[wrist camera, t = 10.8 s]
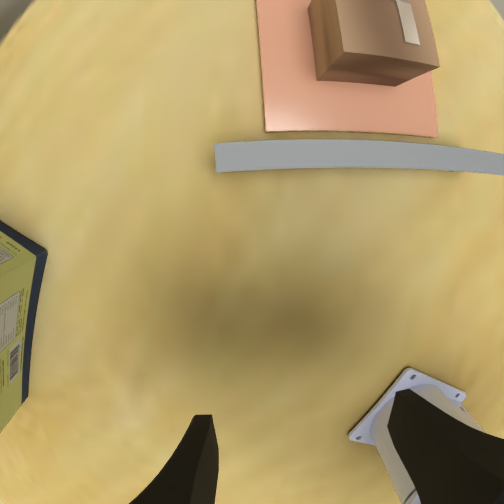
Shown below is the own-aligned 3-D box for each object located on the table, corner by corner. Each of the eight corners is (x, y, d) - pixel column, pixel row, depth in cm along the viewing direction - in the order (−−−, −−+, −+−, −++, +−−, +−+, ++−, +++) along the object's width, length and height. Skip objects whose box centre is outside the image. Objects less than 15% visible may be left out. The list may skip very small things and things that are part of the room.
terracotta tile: (409, -5, 15) (413, -8, 14) (433, 137, 17) (438, 137, 17) (253, -24, 14) (254, -29, 14) (265, 132, 17) (266, 131, 16)
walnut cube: (383, 17, 15) (421, -17, 10) (395, 86, 16) (441, 66, 11) (307, 8, 15) (328, -37, 10) (316, 80, 16) (345, 50, 11)
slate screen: (461, 154, 18) (510, 155, 13) (461, 171, 18) (510, 176, 13) (220, 151, 17) (214, 143, 12) (222, 172, 18) (215, 172, 13)
